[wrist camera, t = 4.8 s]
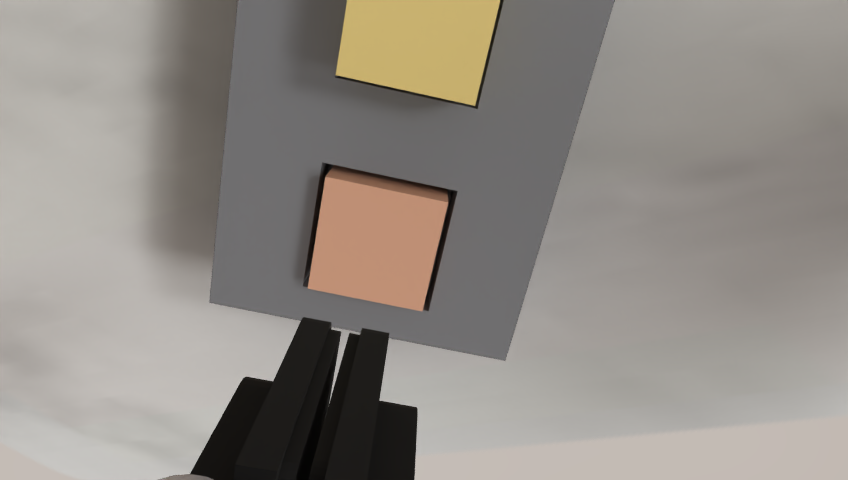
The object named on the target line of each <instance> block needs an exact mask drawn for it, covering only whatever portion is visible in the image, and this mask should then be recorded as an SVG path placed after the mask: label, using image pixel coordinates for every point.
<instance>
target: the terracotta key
mask: <svg viewBox="0 0 848 480" xmlns="http://www.w3.org/2000/svg"><path fill="white" fill-rule="evenodd" d="M447 206H448V192H447V189H446V188H441V187H436V186H431V185H427V184H422V183H417V182H413V181H408V180H403V179H398V178H394V177H389V176H384V175H380V174H375V173H370V172H365V171H361V170H356V169H351V168H347V167H342V166H337V165H334V166H333V167H332V168H331V170H330V171H329V172H328V174H327V175H326V177H325V182H324V189H323V195H322V201H321V208H320V214H319V220H318V227H317V233H316V239H315V245H314V252H313V258H312V264H311V271H310V277H309V283H308V289H312V290H317V291H322V292H327V293H332V294H337V295H342V296H347V297H352V298H357V299H362V300H367V301H372V302H377V303H382V304H387V305H392V306H397V307H402V308H407V309H412V310H417V311H423V307H424V303H425V298H426V294H427V290H428V286H429V282H430V277H431V273H432V269H433V265H434V261H435V256H436V252H437V248H438V244H439V240H440V235H441V231H442V227H443V223H444V219H445V214H446V210H447Z"/></svg>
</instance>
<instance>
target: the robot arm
mask: <svg viewBox="0 0 848 480" xmlns="http://www.w3.org/2000/svg"><path fill="white" fill-rule="evenodd" d="M331 325H332V323H331V322H328V321H323V320H317V319H312V318H306V317H303V318H302V320H301V322H300V324H299V327H298V329H297V331H296V333H295V335H294V338H293V340H292V342H291V344H290V346H289V348H288V351H287V353H286V355H285V357H284V359H283V361H282V364H281V366H280V368H279V370H278V372H277V374H276V377H275V379H274V381H273V382H272V381H267V380H261V379H256V378H250V377H245V378H243V380H242V381H241V383H240V384H239V386H238V388H237V390H236V392H235V393H234V395H233V397H232V399H231V401H230V402H229V404H228V406H227V408H226V410H225V412H224V413H223V415H222V417H221V419H220V421H219V422H218V424H217V426H216V428H215V430H214V431H213V433H212V435H211V437H210V439H209V441H208V442H207V444H206V446H205V448H204V450H203V451H202V453H201V455H200V457H199V459H198V461H197V462H196V464H195V466H194V468H193V470H192V471H191V473H190V474H187V475H173V476H170V477H166V478H163V479H159V480H414V475H415V454H416V434H417V407H412V406H406V405H400V404H395V403H389V402H384V401H379V398H380V392H381V385H382V379H383V372H384V366H385V359H386V353H387V346H388V340H389V333H387V332H382V331H376V330H371V329H366V328H362V330H361V334H360V335H357V334H351V333H349V337H348V340H347V344H346V347H345V351H344V354H343V358H342V361H341V365H340V368H339V372H338V375H337V379H336V383H335V386H334V390H333V393H332V397H331V400H330V395H331V389H332V383H333V377H334V372H335V366H336V360H337V354H338V348H339V342H340V336H341V331H335V330H331ZM329 401H330V404H329Z"/></svg>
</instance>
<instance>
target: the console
mask: <svg viewBox="0 0 848 480" xmlns="http://www.w3.org/2000/svg"><path fill="white" fill-rule="evenodd" d="M614 1H615V0H500V4H499V8H498V12H497V17H496V21H495V25H494V29H493V33H492V37H491V42H490V46H489V50H488V54H487V58H486V62H485V67H484V71H483V75H482V79H481V83H480V87H479V92H478V96H477V100H476V104H475V106H473V105H469V104H464V103H460V102H455V101H451V100H446V99H442V98H437V97H433V96H428V95H424V94H419V93H415V92H410V91H406V90H401V89H397V88H392V87H388V86H383V85H379V84H374V83H369V82H365V81H360V80H356V79H351V78H347V77H342V76H338V75H336V69H337V63H338V56H339V50H340V43H341V37H342V31H343V24H344V18H345V11H346V5H347V0H238V4H237V14H236V25H235V36H234V46H233V57H232V67H231V78H230V89H229V99H228V110H227V120H226V131H225V142H224V152H223V163H222V174H221V184H220V195H219V205H218V216H217V227H216V237H215V248H214V259H213V269H212V280H211V290H210V301H209V303H214V304H219V305H224V306H229V307H234V308H239V309H244V310H249V311H254V312H259V313H265V314H270V315H275V316H280V317H285V318H290V319H295V320H300V321H301V320H302V318H303V317H306V318H312V319H317V320H323V321H328V322H331V323H332V325H331V327H336V328H341V329H346V330H351V331H356V332H361V330H362V328H366V329H371V330H376V331H382V332H387V333H389V338H392V339H397V340H402V341H407V342H412V343H417V344H423V345H428V346H433V347H438V348H443V349H448V350H453V351H458V352H463V353H468V354H473V355H479V356H484V357H489V358H494V359H499V360H504V361H505V360H506V357H507V353H508V350H509V347H510V343H511V340H512V337H513V334H514V330H515V327H516V324H517V320H518V317H519V314H520V310H521V307H522V304H523V301H524V297H525V294H526V291H527V287H528V284H529V281H530V278H531V274H532V271H533V268H534V264H535V261H536V258H537V254H538V251H539V248H540V245H541V241H542V238H543V235H544V231H545V228H546V225H547V222H548V218H549V215H550V212H551V208H552V205H553V202H554V198H555V195H556V192H557V189H558V185H559V182H560V179H561V175H562V172H563V169H564V166H565V162H566V159H567V156H568V152H569V149H570V146H571V142H572V139H573V136H574V133H575V129H576V126H577V123H578V119H579V116H580V113H581V110H582V106H583V103H584V100H585V96H586V93H587V90H588V87H589V83H590V80H591V77H592V73H593V70H594V67H595V63H596V60H597V57H598V54H599V50H600V47H601V44H602V40H603V37H604V34H605V31H606V27H607V24H608V21H609V17H610V14H611V11H612V7H613V4H614ZM334 165H337V166H342V167H347V168H351V169H356V170H361V171H365V172H370V173H375V174H380V175H384V176H389V177H394V178H398V179H403V180H408V181H413V182H417V183H422V184H427V185H431V186H436V187H441V188H446V189H447V192H448V206H447V210H446V214H445V219H444V223H443V227H442V231H441V235H440V240H439V244H438V248H437V252H436V256H435V261H434V265H433V269H432V273H431V277H430V282H429V286H428V290H427V294H426V298H425V303H424V307H423V311H417V310H412V309H407V308H402V307H397V306H392V305H387V304H382V303H377V302H372V301H367V300H362V299H357V298H352V297H347V296H342V295H337V294H332V293H327V292H322V291H317V290H312V289H308V283H309V277H310V271H311V264H312V258H313V252H314V245H315V239H316V233H317V227H318V220H319V214H320V208H321V201H322V195H323V189H324V182H325V177H326V175H327V174H328V172H329V171H330V170H331V168H332V167H333V166H334Z"/></svg>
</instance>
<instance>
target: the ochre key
mask: <svg viewBox="0 0 848 480" xmlns="http://www.w3.org/2000/svg"><path fill="white" fill-rule="evenodd" d="M499 4H500V0H347V5H346V11H345V18H344V24H343V31H342V37H341V43H340V50H339V56H338V63H337V69H336V75H338V76H342V77H347V78H351V79H356V80H360V81H365V82H369V83H374V84H379V85H383V86H388V87H392V88H397V89H401V90H406V91H410V92H415V93H419V94H424V95H428V96H433V97H437V98H442V99H446V100H451V101H455V102H460V103H464V104H469V105H473V106H475V104H476V100H477V96H478V92H479V87H480V83H481V79H482V75H483V71H484V67H485V62H486V58H487V54H488V50H489V46H490V42H491V37H492V33H493V29H494V25H495V21H496V17H497V12H498V8H499Z"/></svg>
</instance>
